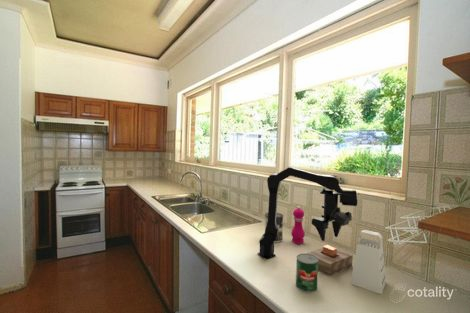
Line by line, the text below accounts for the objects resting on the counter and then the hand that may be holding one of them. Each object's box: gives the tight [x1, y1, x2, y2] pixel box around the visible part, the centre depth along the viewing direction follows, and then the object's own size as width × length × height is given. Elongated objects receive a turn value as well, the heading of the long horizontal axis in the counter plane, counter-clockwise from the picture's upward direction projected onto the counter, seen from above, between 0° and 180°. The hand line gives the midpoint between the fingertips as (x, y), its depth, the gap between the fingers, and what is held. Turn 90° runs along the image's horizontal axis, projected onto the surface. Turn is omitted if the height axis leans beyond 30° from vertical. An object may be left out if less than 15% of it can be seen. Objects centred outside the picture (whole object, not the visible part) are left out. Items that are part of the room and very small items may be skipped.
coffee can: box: [264, 212, 284, 243], centre depth 139 cm, size 10×10×14 cm
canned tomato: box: [295, 253, 319, 293], centre depth 93 cm, size 8×8×11 cm
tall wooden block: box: [322, 244, 338, 258], centre depth 110 cm, size 3×5×7 cm, turn 32°
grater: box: [350, 229, 387, 295], centre depth 96 cm, size 10×10×20 cm
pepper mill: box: [290, 205, 306, 245], centre depth 135 cm, size 7×7×20 cm
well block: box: [306, 247, 354, 277], centre depth 110 cm, size 16×12×5 cm
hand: (329, 238), depth 109 cm, fingers open, 9 cm apart
